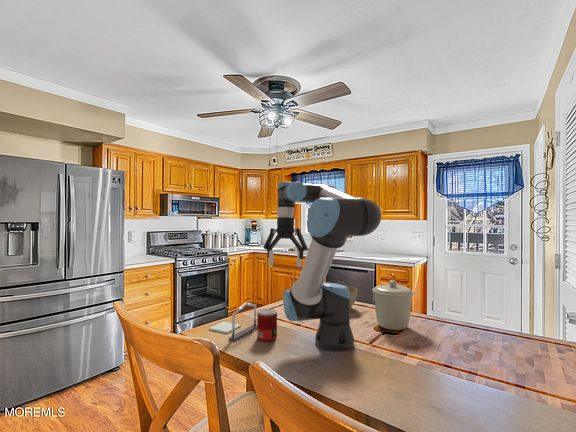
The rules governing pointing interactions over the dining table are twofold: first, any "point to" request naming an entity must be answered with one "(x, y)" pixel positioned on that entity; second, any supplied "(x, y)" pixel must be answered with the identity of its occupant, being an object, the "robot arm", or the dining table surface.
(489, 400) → the dining table surface
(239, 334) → the metal handle
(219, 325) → the sage mat
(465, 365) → the dining table surface
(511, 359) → the dining table surface
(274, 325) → the canned food
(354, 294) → the planter bowl
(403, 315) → the canister
